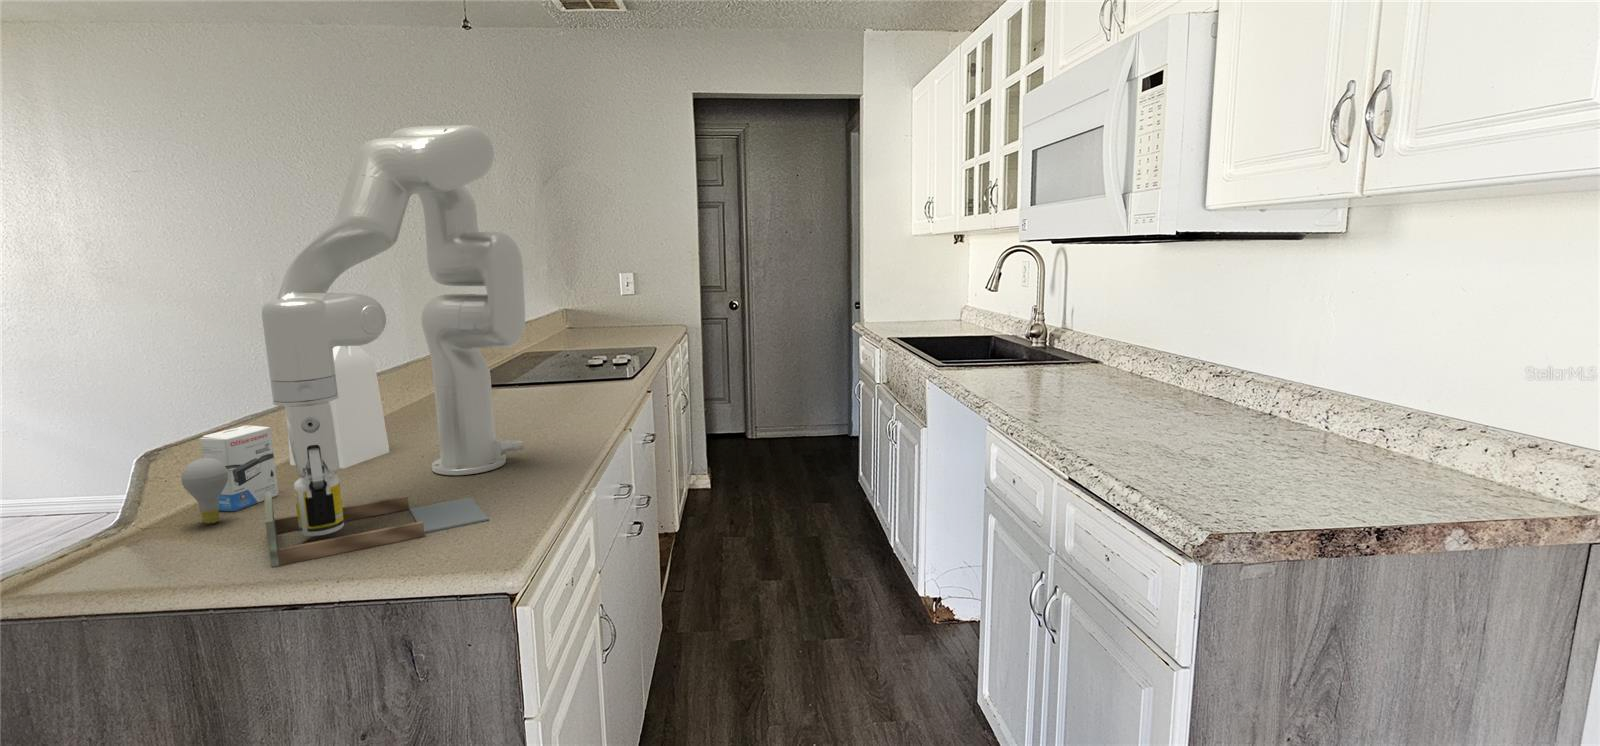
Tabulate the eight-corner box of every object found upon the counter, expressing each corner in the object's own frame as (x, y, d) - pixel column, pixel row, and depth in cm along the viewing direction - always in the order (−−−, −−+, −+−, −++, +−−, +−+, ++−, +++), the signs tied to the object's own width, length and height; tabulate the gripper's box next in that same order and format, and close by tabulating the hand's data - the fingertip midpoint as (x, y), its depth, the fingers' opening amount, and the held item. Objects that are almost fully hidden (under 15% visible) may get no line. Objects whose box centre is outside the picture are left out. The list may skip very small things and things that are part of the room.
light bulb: (205, 532, 113) (195, 465, 111) (179, 528, 115) (169, 461, 113) (243, 519, 118) (234, 455, 116) (218, 515, 120) (209, 452, 118)
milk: (389, 452, 156) (376, 321, 151) (344, 468, 145) (328, 327, 140) (338, 449, 158) (324, 320, 154) (290, 465, 147) (272, 326, 143)
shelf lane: (408, 508, 122) (404, 470, 121) (424, 536, 110) (420, 495, 109) (269, 533, 112) (264, 492, 111) (271, 567, 100) (265, 522, 99)
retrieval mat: (471, 499, 126) (470, 497, 126) (489, 520, 117) (489, 518, 117) (409, 510, 121) (409, 508, 121) (423, 533, 112) (422, 531, 112)
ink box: (234, 512, 121) (224, 438, 119) (207, 510, 122) (197, 437, 120) (280, 495, 130) (271, 425, 128) (255, 493, 131) (246, 424, 129)
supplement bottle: (353, 525, 111) (345, 458, 110) (319, 539, 106) (310, 469, 105) (325, 521, 113) (317, 455, 112) (290, 534, 108) (281, 466, 106)
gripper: (342, 397, 101) (357, 530, 105) (332, 378, 115) (346, 496, 119) (272, 404, 97) (291, 543, 100) (271, 384, 111) (287, 506, 114)
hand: (320, 516), depth 109 cm, fingers closed on supplement bottle, 5 cm apart
